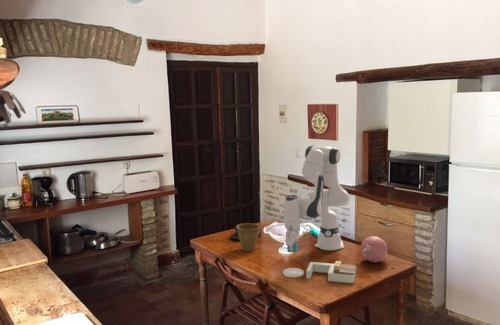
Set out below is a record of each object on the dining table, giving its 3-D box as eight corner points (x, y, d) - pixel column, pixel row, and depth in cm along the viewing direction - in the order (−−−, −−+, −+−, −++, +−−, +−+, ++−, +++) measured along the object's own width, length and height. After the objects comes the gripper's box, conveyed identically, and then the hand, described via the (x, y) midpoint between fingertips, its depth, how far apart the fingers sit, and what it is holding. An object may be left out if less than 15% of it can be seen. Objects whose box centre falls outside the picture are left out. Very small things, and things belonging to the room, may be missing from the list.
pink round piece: (351, 263, 266) (351, 238, 264) (370, 255, 280) (370, 231, 277) (373, 270, 255) (373, 244, 253) (392, 261, 268) (392, 236, 266)
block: (289, 249, 256) (289, 242, 255) (298, 249, 254) (298, 243, 254) (287, 252, 251) (287, 245, 250) (296, 252, 249) (296, 245, 249)
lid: (335, 265, 252) (335, 259, 252) (355, 267, 249) (355, 261, 248) (333, 272, 242) (333, 267, 241) (354, 274, 238) (354, 268, 238)
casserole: (252, 230, 339) (252, 219, 338) (267, 236, 325) (267, 224, 323) (225, 237, 325) (224, 226, 323) (239, 243, 310) (239, 232, 309)
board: (310, 269, 260) (310, 261, 259) (355, 273, 252) (355, 265, 252) (306, 278, 247) (306, 270, 246) (353, 283, 239) (353, 275, 238)
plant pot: (247, 255, 287) (246, 231, 284) (233, 249, 298) (232, 226, 296) (264, 249, 296) (264, 226, 293) (250, 244, 307) (249, 221, 305)
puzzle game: (273, 230, 338) (287, 242, 310) (273, 227, 338) (287, 238, 309) (310, 226, 346) (327, 237, 317) (310, 222, 346) (327, 233, 317)
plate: (285, 268, 262) (285, 267, 262) (305, 270, 258) (305, 268, 258) (280, 276, 251) (280, 275, 251) (301, 278, 247) (301, 276, 247)
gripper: (294, 230, 240) (294, 254, 242) (301, 219, 259) (301, 242, 261) (282, 229, 242) (283, 254, 244) (290, 219, 261) (291, 242, 263)
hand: (292, 248), depth 252 cm, fingers closed on block, 5 cm apart
